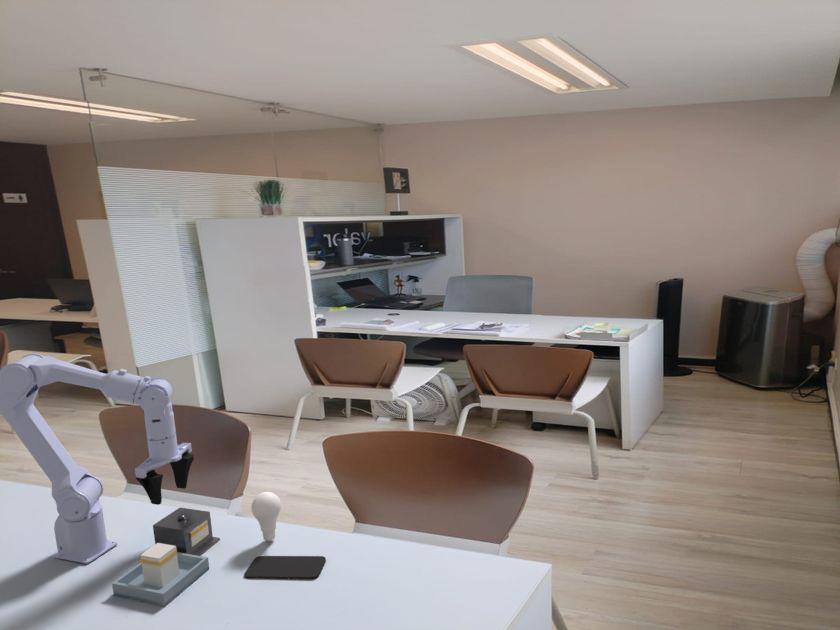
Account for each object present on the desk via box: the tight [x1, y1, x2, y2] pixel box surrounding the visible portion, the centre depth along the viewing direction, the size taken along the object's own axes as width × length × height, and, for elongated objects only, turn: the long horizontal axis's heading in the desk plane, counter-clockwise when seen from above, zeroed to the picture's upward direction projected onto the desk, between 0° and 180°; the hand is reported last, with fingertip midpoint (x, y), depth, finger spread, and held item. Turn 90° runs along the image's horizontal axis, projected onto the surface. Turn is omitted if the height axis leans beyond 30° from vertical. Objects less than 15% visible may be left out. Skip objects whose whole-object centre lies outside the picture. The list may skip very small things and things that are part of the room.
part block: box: [139, 543, 180, 587], centre depth 118 cm, size 5×5×6 cm
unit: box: [152, 507, 221, 556], centre depth 130 cm, size 10×10×8 cm
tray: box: [111, 552, 210, 607], centre depth 119 cm, size 12×12×2 cm
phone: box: [243, 555, 327, 581], centre depth 121 cm, size 7×1×15 cm
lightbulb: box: [251, 491, 282, 542], centre depth 131 cm, size 6×6×11 cm
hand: (169, 495), depth 133 cm, fingers open, 7 cm apart
